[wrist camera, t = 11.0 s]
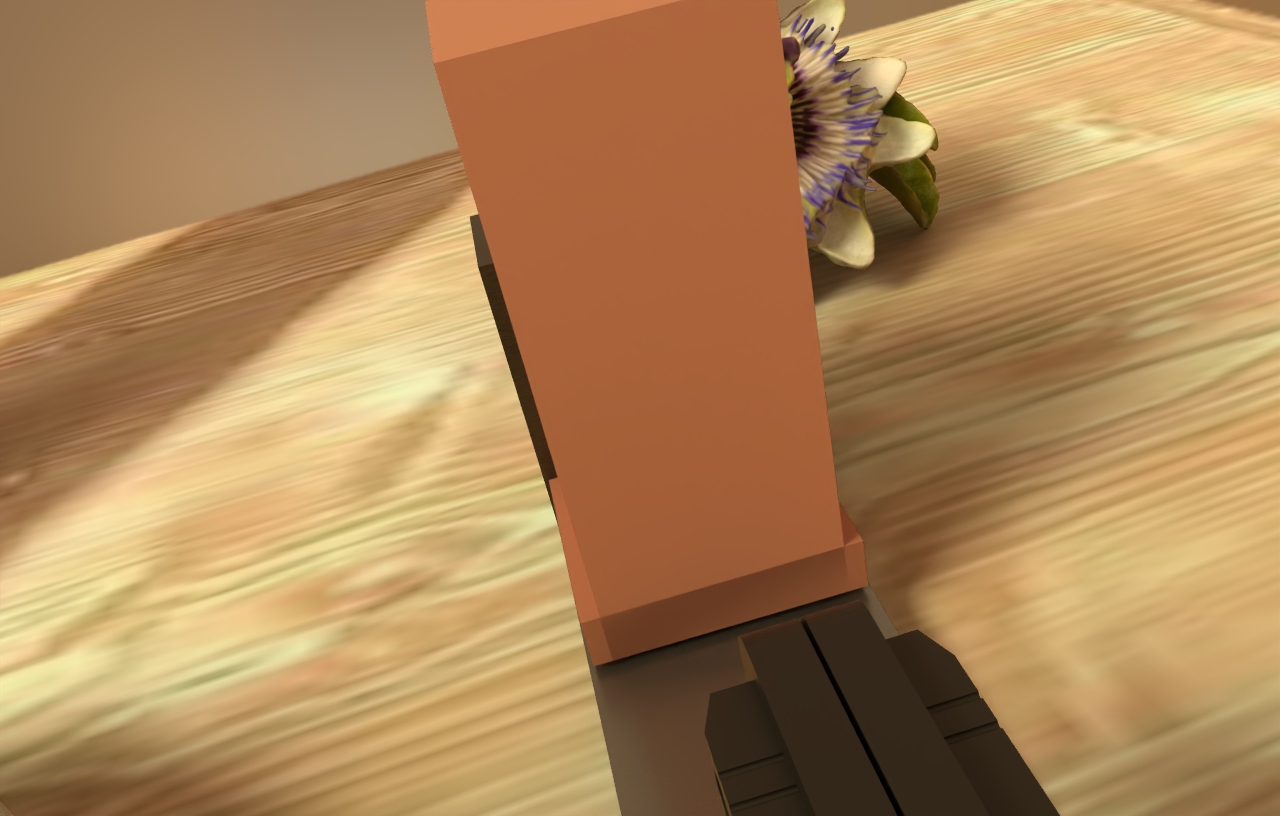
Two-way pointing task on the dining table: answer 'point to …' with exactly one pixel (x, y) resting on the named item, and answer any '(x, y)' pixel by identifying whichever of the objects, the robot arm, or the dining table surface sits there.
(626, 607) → the block
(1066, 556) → the dining table surface
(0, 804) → the cake pan
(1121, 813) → the dining table surface
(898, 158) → the passion flower
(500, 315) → the rail
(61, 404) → the dining table surface
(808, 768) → the robot arm
